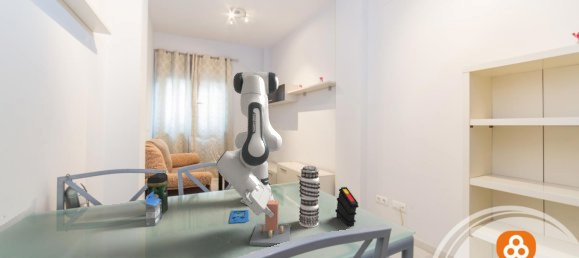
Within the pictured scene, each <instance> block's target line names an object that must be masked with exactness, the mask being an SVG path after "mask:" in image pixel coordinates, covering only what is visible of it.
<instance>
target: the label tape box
mask: <svg viewBox="0 0 579 258" xmlns="http://www.w3.org/2000/svg"><path fill="white" fill-rule="evenodd" d="M153 194H154V191H153V192H152V193H150V194H149V195H148V194H147V195H146V196H145V225H146V227H154V226H156V225H157V224H158V223H159V222H160V220H161V219H162V218H163V214H162V200H161V199H158V198H155V197H153ZM150 196H151V197H150ZM149 197H150V198H149ZM148 198H149V199H148Z"/></svg>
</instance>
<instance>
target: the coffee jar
mask: <svg viewBox="0 0 579 258" xmlns="http://www.w3.org/2000/svg"><path fill="white" fill-rule="evenodd" d="M168 178H169V176H168V174H167V173H165V172H156V173H154V174H153V175H149V176H148V177H147V178H146V185H147V186H146V187H147V196H148V195H149V194H150V193H152V192H153V191H154V194H153V197H155V198H158V199H161V200H162V215H163V214H165V212H167V211H168V209H169V200H168V199H169V197H168V196H169V195H168V185H169V183H168V182H169V179H168ZM150 197H151V196H150ZM150 197H149V198H150ZM149 198H148V199H149Z"/></svg>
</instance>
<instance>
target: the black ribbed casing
mask: <svg viewBox="0 0 579 258" xmlns="http://www.w3.org/2000/svg"><path fill="white" fill-rule="evenodd" d="M338 191H339V193H338V197H336V201H337V202H336V209H335V214H336V219H338V220H340V221H341V222H342V223H344V224H345V225H347V227H349V226H351V227H352V226H355V223H356V222H357V221H356V220H355V218H356V217H355V216H356V215H357V212H356V211H357V208H359V206H360V205H359V202H358V201H357V199H356V198H355V196H354V195H353V194H352V193H351V191H350V190H349V188H348V187H347V186H341V187H340V188H338Z"/></svg>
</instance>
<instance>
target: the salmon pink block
mask: <svg viewBox="0 0 579 258" xmlns="http://www.w3.org/2000/svg"><path fill="white" fill-rule="evenodd" d="M266 206H267V207H268V209H270V210H272V211H273V212H274V216H273V217H272V218H270V217H269V216H268V215H267V214H265V213H264V216H265V217H264V218H265V219H264V220H265V221H264V224H265V230H268V231H269V230H272V231H277V229H278V224H279V200H274V201H272V200H268V203H267V205H266Z"/></svg>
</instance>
